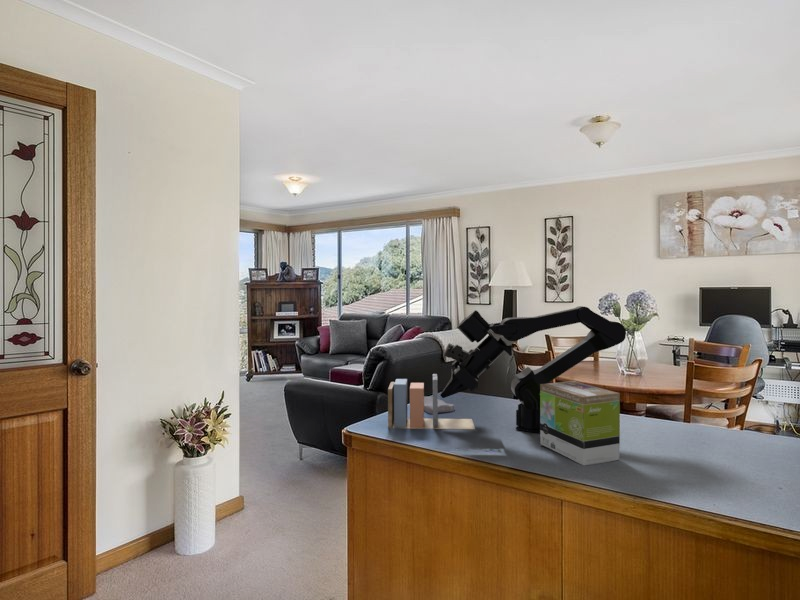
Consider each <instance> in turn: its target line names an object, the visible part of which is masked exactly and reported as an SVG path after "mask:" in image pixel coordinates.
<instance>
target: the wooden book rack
mask: <svg viewBox="0 0 800 600" xmlns="http://www.w3.org/2000/svg"><path fill="white" fill-rule="evenodd" d="M394 383H395V381H390V383H389V386H388V388H387V428H388V429H404V430H405V429H414V430H418V429H419V430H420V429H421V430H422V429H424V430H425V429H427V430H428V429H429V430H430V429H431V430H435V429H436V430H437V429H438V430H476V427H475V425H474V421H473V419H472V418H438V427H433V418H424V427H410V417H409V418H408V417H407V424H406V427H394Z"/></svg>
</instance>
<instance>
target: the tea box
mask: <svg viewBox="0 0 800 600" xmlns="http://www.w3.org/2000/svg"><path fill="white" fill-rule="evenodd" d="M620 396H621V393H620V392H616V391H613V390H610V389H609V390H608V389H605V388H603V387H598V386H595V385H591V384H588V383H587V384H586V383H584V382H579V381H575V380H568V381H559V382H549V383H548V384H540V433H539V434H540V435H539V436H540V438H539V439H540V446H543V447H545V448H548V449H550V450H552V451H553V452H555V453H558V454H560V455H562V456H564V457H566V458H567V459H570V460H572V461H573V462H575V463H578V465H581V466H583V467H585V466H590V465H596V464H602V463H603V464H604V463H609V462H613V461H618V460H620V448H621V447H620V441H621V440H620V437H621V436H620V435H621V433H620V432H621V431H620V429H621V428H620V425H621V424H620V423H621V417H620V415H621V414H620V413H621V411H620V410H621V405H620V404H621V402H620V401H621V397H620Z"/></svg>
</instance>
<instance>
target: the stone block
mask: <svg viewBox="0 0 800 600" xmlns="http://www.w3.org/2000/svg"><path fill="white" fill-rule="evenodd" d="M454 411H455V404H452V403H447V402H445V401H444V400H443V399H442V400H441V399H440V398H438V414H439V413H446V412H454ZM424 413H428V414H430V415H431V414H432V415H433V396H425V395H424Z"/></svg>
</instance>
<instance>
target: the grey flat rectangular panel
mask: <svg viewBox="0 0 800 600" xmlns="http://www.w3.org/2000/svg"><path fill="white" fill-rule="evenodd" d="M438 382H439V381H438V374H437V373H433V374H432V397H433V414H432V419H433V427H438V419H439V418H438V417H439V413H438V399H439V398H438V397H439V396H438V395H439V393H438V390H439V389H438Z"/></svg>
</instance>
